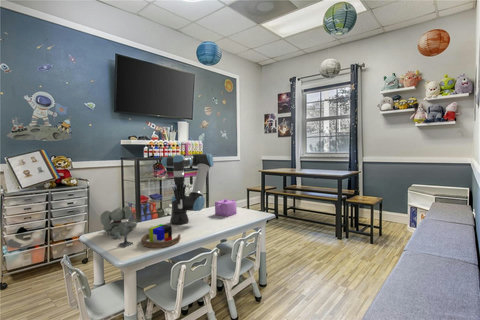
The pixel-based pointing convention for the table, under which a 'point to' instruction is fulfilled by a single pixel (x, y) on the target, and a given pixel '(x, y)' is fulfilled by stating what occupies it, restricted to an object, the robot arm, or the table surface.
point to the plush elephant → (116, 221)
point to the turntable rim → (158, 244)
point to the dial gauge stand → (126, 233)
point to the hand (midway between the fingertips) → (180, 208)
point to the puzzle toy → (160, 233)
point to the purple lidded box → (225, 207)
